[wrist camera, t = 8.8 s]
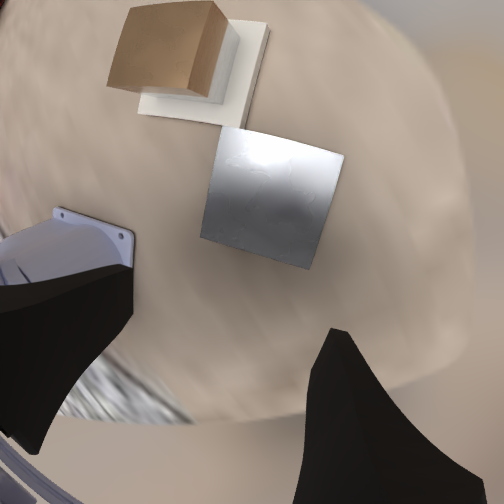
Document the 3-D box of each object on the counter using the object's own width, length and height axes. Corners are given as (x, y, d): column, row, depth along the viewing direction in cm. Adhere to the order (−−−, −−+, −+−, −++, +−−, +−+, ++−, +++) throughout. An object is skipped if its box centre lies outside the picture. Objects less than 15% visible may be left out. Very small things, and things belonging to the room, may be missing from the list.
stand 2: (206, 232, 19) (199, 237, 18) (228, 126, 16) (222, 125, 15) (309, 262, 18) (308, 269, 17) (341, 155, 15) (344, 155, 14)
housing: (156, 97, 15) (106, 86, 10) (173, 35, 13) (130, 8, 9) (222, 104, 15) (186, 88, 10) (240, 37, 13) (213, 0, 8)
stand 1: (146, 115, 17) (137, 113, 16) (171, 25, 14) (163, 19, 13) (244, 129, 16) (239, 128, 15) (270, 30, 13) (266, 22, 12)
